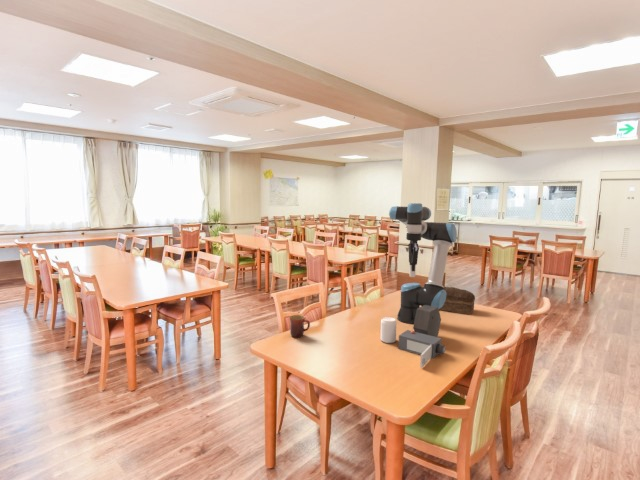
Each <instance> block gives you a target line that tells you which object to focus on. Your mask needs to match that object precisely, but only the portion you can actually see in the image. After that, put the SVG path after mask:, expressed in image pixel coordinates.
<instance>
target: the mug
mask: <svg viewBox="0 0 640 480" xmlns="http://www.w3.org/2000/svg"><path fill="white" fill-rule="evenodd" d="M288 319H289V323H290V328H289V329H290V330H289V331H290V335H291V337H293V338H301V337H303V336H304V334H305V332H306V331H308V330H309V329H310V327H311V323H310V321H309V320H308V319H306V316H305V315H301V314H300V315H299V314H295V315H294V314H293V315H291V316H289V317H288ZM305 322H306V323H307V327H306V328H305V324H304V323H305Z"/></svg>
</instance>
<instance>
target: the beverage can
mask: <svg viewBox="0 0 640 480" xmlns="http://www.w3.org/2000/svg"><path fill="white" fill-rule="evenodd" d="M380 341H381V342H383V343H385V344H393V343H395V342H396V341H397V319H396V318H394V317H393V316H392V317H391V316H385V317H384V316H383V317H382V318H381V320H380Z"/></svg>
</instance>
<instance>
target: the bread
mask: <svg viewBox="0 0 640 480" xmlns="http://www.w3.org/2000/svg"><path fill="white" fill-rule="evenodd" d="M443 287H444V290H445V291H446V300H445V303H444V305H443V306H442V307H441V308H440V309H439V311H446V312H452V313H457V314H458V313H459V314H463V315H471V314H472V313H473V312H474V309H475V301H476V296H475V294H474V293H472V292H471V291H469V290H466V289H462V288H461V289H460V288H458V287H453V286H451V287H448V286H443Z"/></svg>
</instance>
